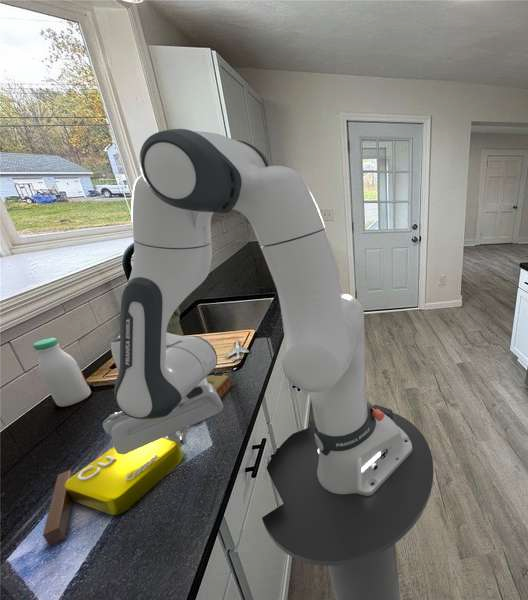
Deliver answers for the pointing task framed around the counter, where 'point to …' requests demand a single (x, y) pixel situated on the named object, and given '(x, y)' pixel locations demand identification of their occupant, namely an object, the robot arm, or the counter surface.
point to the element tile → (123, 476)
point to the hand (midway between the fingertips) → (182, 443)
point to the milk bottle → (60, 373)
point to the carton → (219, 384)
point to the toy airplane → (237, 351)
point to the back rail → (58, 511)
